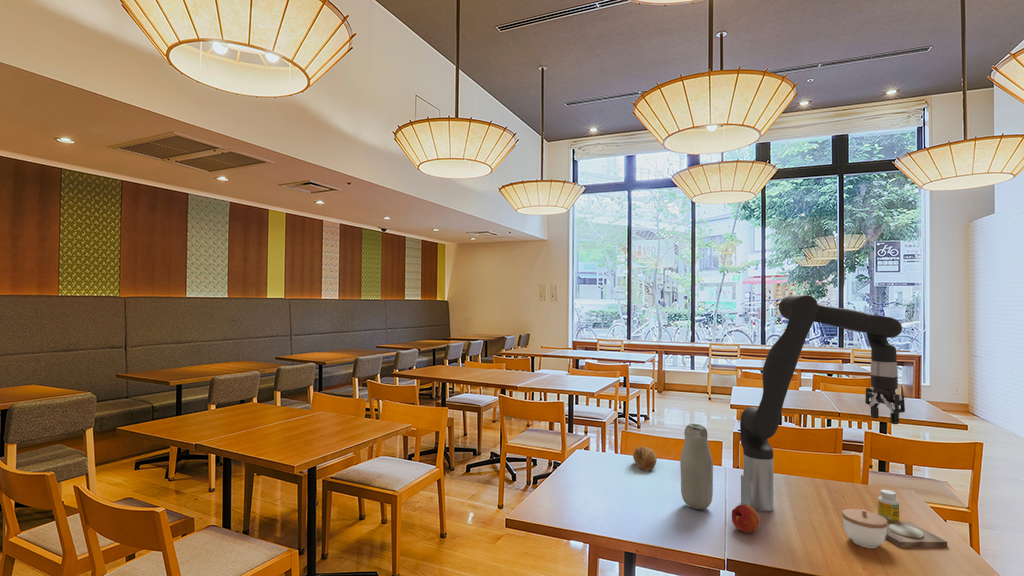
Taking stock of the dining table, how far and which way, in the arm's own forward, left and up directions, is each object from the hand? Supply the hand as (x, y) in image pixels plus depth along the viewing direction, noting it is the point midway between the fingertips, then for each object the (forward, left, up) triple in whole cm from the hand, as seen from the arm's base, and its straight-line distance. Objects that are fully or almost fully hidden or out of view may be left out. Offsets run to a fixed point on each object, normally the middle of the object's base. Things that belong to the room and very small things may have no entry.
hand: (884, 421), depth 168 cm
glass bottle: (-67, -1, -30) cm, 73 cm away
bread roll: (-72, +40, -30) cm, 87 cm away
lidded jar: (-27, -26, -30) cm, 48 cm away
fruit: (-59, -18, -30) cm, 68 cm away
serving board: (-12, -22, -29) cm, 38 cm away
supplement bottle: (-9, -12, -30) cm, 33 cm away
